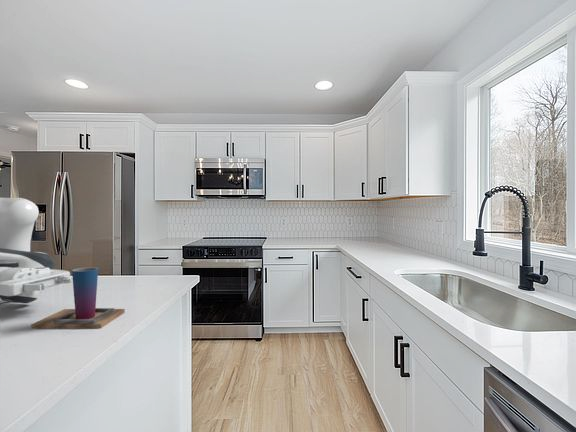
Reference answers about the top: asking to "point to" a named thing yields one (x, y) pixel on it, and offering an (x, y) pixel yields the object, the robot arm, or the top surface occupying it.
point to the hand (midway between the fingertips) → (56, 283)
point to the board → (68, 319)
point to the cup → (85, 291)
